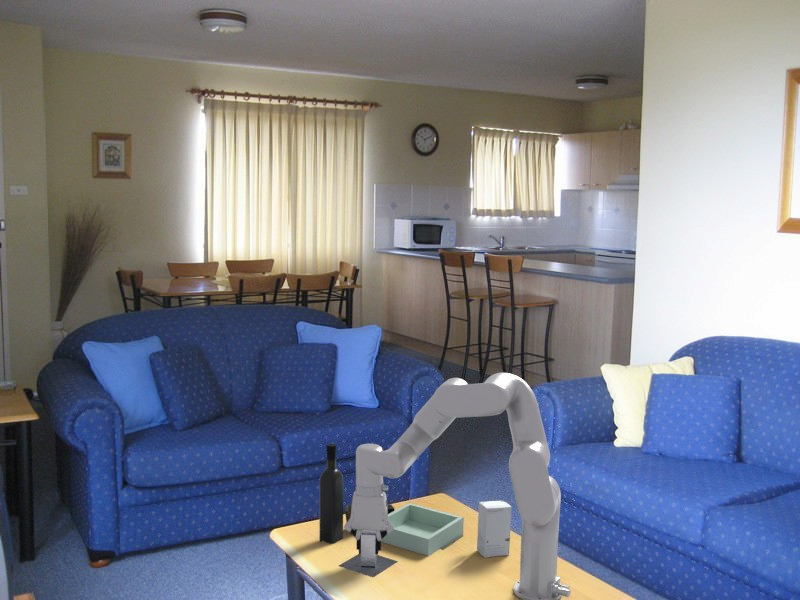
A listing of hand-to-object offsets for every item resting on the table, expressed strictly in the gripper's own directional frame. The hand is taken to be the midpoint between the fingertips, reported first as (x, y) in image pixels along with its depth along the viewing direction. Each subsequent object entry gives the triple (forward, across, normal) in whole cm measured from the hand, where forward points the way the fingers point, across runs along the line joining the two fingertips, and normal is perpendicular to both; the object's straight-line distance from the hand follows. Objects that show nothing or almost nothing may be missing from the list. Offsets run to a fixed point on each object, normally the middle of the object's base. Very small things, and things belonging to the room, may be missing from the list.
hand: (368, 551), depth 230 cm
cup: (+5, +6, -23) cm, 25 cm away
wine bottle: (+5, +13, -16) cm, 21 cm away
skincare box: (+5, -35, -13) cm, 38 cm away
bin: (+4, -13, -20) cm, 24 cm away
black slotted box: (+5, -2, -34) cm, 35 cm away
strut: (+3, 0, 0) cm, 3 cm away
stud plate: (+4, 0, 0) cm, 4 cm away
